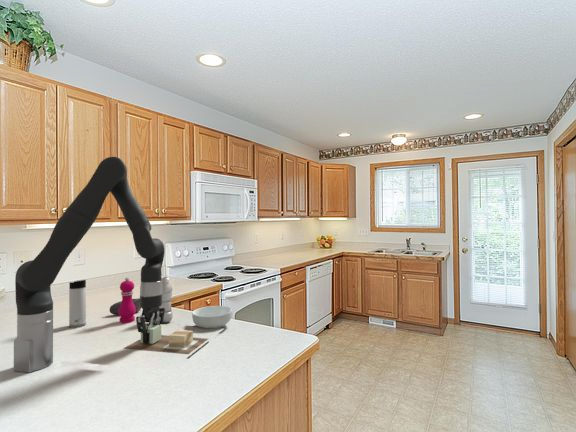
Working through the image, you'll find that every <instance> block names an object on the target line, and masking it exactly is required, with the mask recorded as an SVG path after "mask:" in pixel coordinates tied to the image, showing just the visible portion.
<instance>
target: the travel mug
mask: <svg viewBox="0 0 576 432" xmlns="http://www.w3.org/2000/svg"><path fill="white" fill-rule="evenodd" d="M86 285H87V280H86V279H83V280H82V279H81V280H76V281H72V282H71V281H70V282H69V290H68V293H69V295H68V296H69V297H68V298H69V299H68V300H69V301H68V306H69V307H68V311H69V312H68V315H69V317H68V318H69V320H68V321H69V324H68V325H69V326H68V327H69V328H73V329H75V328H81V327H84V326H86V325H87V286H86Z"/></svg>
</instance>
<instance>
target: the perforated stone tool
mask: <svg viewBox="0 0 576 432" xmlns="http://www.w3.org/2000/svg"><path fill="white" fill-rule="evenodd" d="M132 301H133V303H134V306H135V308H136V313H138V312H140V311H141V309H142V308H141V307H140V297H139V298H132ZM121 303H122V300H120V301H117V302H114V303H113V304H112V305H111V306H110V307H109V313H110V314H112V315H114V316H115V315H116V316H120V315H119V314H118V312H119V308H120V306H121Z"/></svg>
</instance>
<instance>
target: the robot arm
mask: <svg viewBox="0 0 576 432" xmlns="http://www.w3.org/2000/svg"><path fill="white" fill-rule="evenodd" d="M127 177H128V168H127V166H126V163H125V162H124V161H123V159H121V158H120V157H117V156H110V157H109V156H108V157H105V158H104V159H102V161H100V163H99V164H98V166H97V168H96V169H95V170H94V173H93V174H92V176H91V178H90V180H88V182H87V184H86V185H85V187H84V188H83V189H82V190H80V192H79V193H78V194H77V196H76V197H75V198H74V199H73V201H72V202H71V203H70V204H69V205H68V207H67V208H66V209H65V211H63V213H62V214H61V216H60V217H59V219H58V220H57V222H56V223H55V225H54V228H53V230H52V233H51V234H50V237H49V239H48V241H47V243H46V244H45V246H44V247H43V248H42V249H41V251H40V252H39V253H38V254H37V256H35V257H34V258H33V260H28V261H25V262H23V263H22V264H21V265H20V266H19V267H18V268H17V270H16V272H15V280H14V281H15V284H14V285H15V304H16V323H17V324H16V338H15V339H13V371H15V372H23V373H31V372H34V371H38V370H42V369H45V368H47V367H49V366H51V365H52V364H53V363H54V301H53V297H52V292H51V286H52V284H53V283H54V282H55V280H56V279H57V276H58V275H59V273H60V271H61V269H62V268H63V266H64V264H65V262H66V260H67V259H68V257H70V254H71V253H72V252H73V251H74V250H75V248H76V247H77V246H78V245H79V243H80V242H81V241H82V239H83V238H84V236H85V235H87V234H88V233H87V232H89V230H90V229H91V227H92V226H93V224H94V223H95V222H96V221H97V218H98V216H99V214H100V212H101V209H102V208H103V205H104V203H105V200H106V198H107V197H108V195H109V193H111V195H112V196H113V198H114V199H115V201H116V203H117V205H118V207H119V208H120V211H121V213H122V216H123V218H124V220H125V222H126V224H127V226H128V228H129V230H130V232H131V233H132V239H133V242H134V243H133V244H134V246H135V249H136V251H137V253H138V255H139V256H140V257H141V258H142V259H145V263H144V265H142V267H141V270H140V286H139V298H140V307H141V309H142V312H141V314H140V316H139V315H138V316H136V317H135V321H136V325H137V326H136V328H137V332H138V333H141V332H142V333H143V343H149V341H150V333H149V331H150V326H152V325H161V326H162V325H163V324H164V323H163V319H164V311H165V308H160V306H161V305H162V282H161V278H162V267H163V264H164V257H165V250H166V249H165V245H164V242H163V241H162V240H161V239H159V238H155V237H154V238H153V236H152V234H151V230H152V225H151V222H150V221H149V218H148V216H147V214H146V212H145V211H144V209H143V208H142V206H141V205H140V203H139V202H138V201H137V199H136V197H135V196H134V194H133V191H132V189H131V187H130V184H129V181H128V178H127ZM160 317H161V320H160ZM146 326H147V329H146ZM141 328H142V329H141Z"/></svg>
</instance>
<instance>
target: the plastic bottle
mask: <svg viewBox="0 0 576 432" xmlns="http://www.w3.org/2000/svg"><path fill="white" fill-rule="evenodd" d="M161 282H162V305H161V306H160V308H165V311H164V319H163V324H164V323H166V324H167V323H170V322H171V321H172V320H173V310H172V296H173V287H172V285H171V284H170V277H168V276H166V277H165V276H164V277H163V276H161ZM160 320H161V317H160Z"/></svg>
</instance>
